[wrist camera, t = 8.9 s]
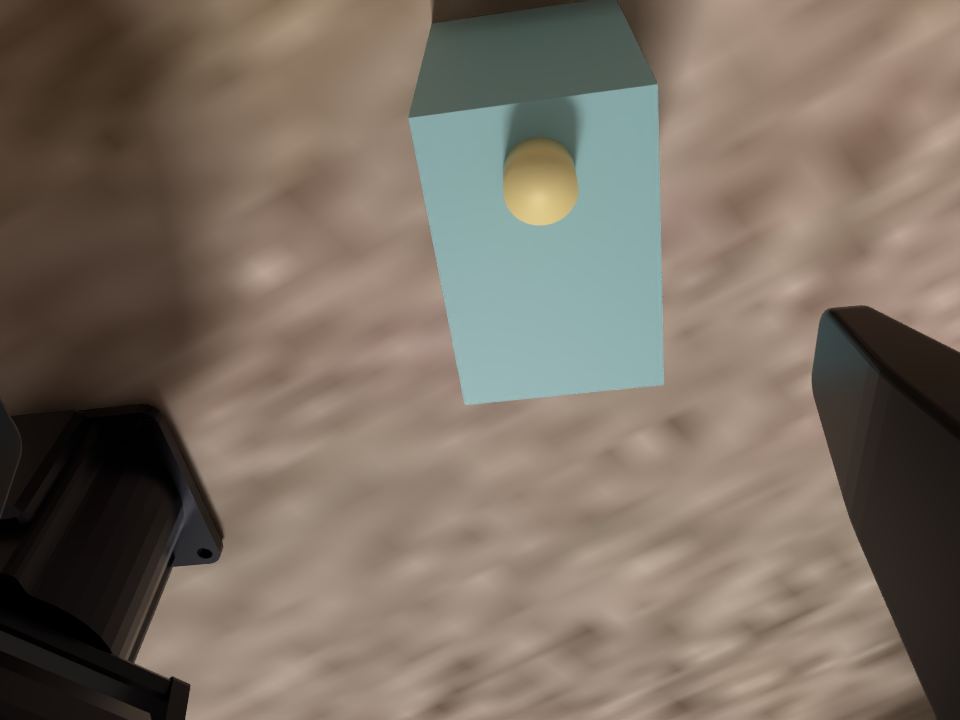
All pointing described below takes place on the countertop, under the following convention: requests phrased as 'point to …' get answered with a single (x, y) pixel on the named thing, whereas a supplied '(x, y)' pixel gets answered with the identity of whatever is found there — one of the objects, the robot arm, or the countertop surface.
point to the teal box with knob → (544, 199)
